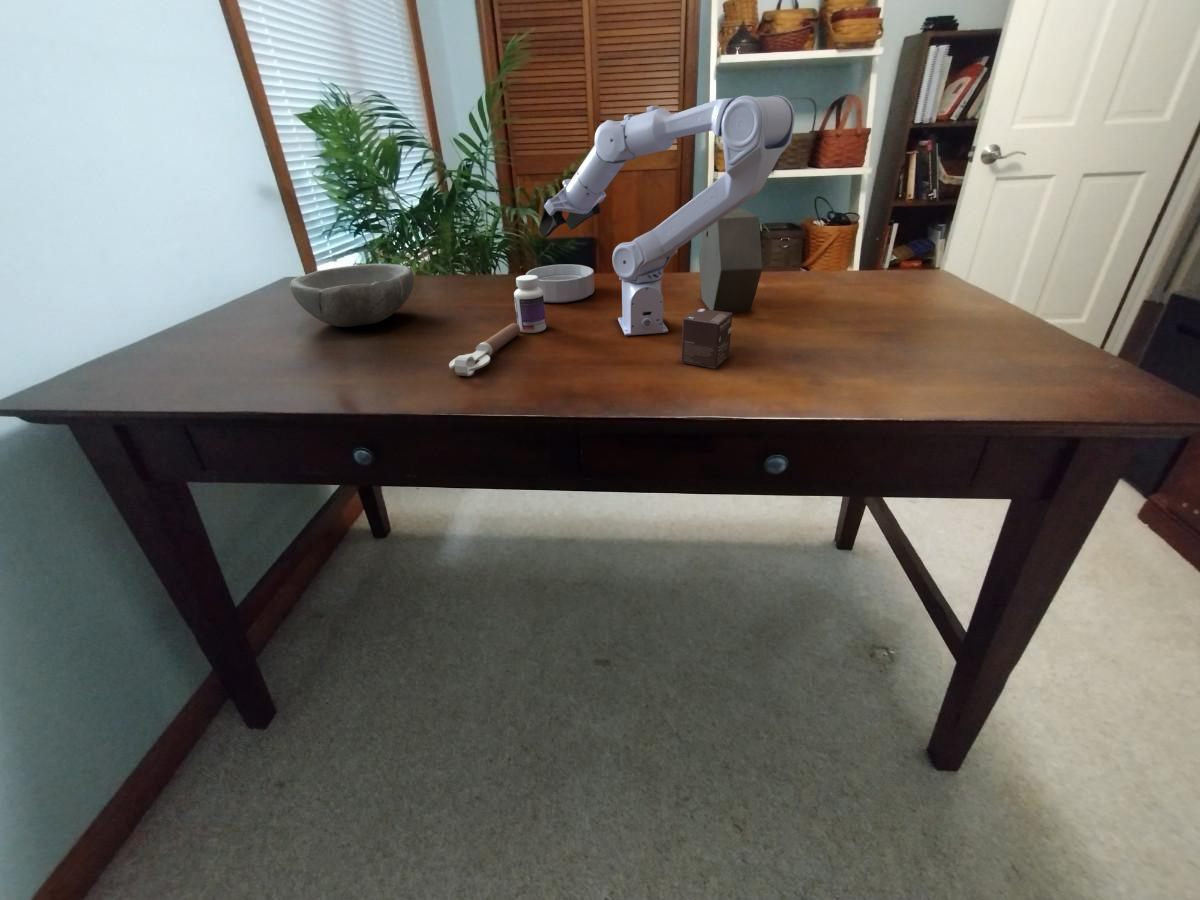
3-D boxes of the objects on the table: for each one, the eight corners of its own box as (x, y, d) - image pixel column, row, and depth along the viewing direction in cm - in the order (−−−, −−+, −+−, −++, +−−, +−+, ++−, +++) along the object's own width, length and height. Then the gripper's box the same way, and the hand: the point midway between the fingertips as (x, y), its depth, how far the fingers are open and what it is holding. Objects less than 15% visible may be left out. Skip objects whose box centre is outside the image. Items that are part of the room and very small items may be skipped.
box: (715, 370, 84) (719, 323, 80) (679, 363, 87) (681, 318, 83) (729, 356, 88) (733, 312, 84) (695, 350, 91) (697, 307, 87)
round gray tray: (597, 301, 117) (596, 278, 115) (528, 306, 116) (525, 283, 114) (590, 284, 130) (589, 262, 128) (528, 288, 129) (526, 266, 126)
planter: (764, 297, 99) (756, 186, 100) (722, 300, 99) (715, 188, 99) (739, 322, 116) (732, 227, 116) (703, 324, 116) (696, 229, 116)
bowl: (440, 306, 119) (431, 259, 114) (389, 342, 100) (375, 288, 95) (345, 304, 123) (332, 258, 118) (279, 339, 104) (260, 286, 99)
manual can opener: (494, 333, 102) (492, 317, 101) (524, 334, 101) (523, 318, 100) (445, 377, 85) (441, 359, 84) (480, 379, 84) (477, 361, 83)
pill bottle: (552, 328, 104) (547, 276, 99) (531, 336, 100) (525, 282, 95) (533, 322, 107) (528, 272, 102) (512, 330, 103) (505, 278, 98)
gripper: (604, 156, 101) (569, 206, 112) (550, 166, 92) (517, 219, 103) (625, 188, 102) (588, 234, 112) (573, 201, 93) (538, 250, 103)
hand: (555, 229), depth 108 cm, fingers open, 7 cm apart
